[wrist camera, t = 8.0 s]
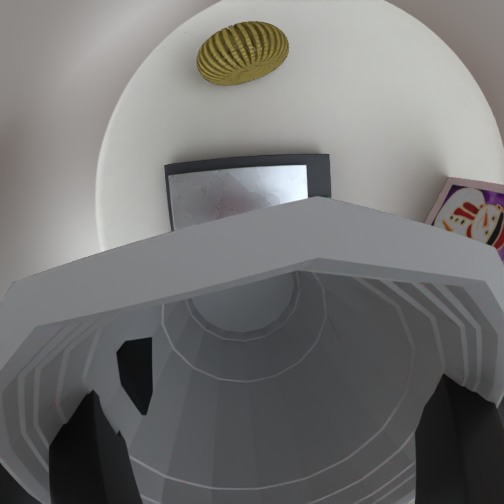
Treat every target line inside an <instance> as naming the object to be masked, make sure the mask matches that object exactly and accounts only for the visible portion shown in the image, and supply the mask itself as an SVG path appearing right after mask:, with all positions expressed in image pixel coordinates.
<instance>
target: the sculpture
mask: <svg viewBox="0 0 504 504" xmlns="http://www.w3.org/2000/svg"><path fill="white" fill-rule="evenodd" d="M228 28H229V29H227V28H224V29H222V31H218V32H216V33H215V34H214V35H212V36H211V37H210V38H209V39H207V40H206V42H205V43H204V44H203V46H202V47H201V49H200V50H199V53H198V56H197V67H198V71H199V72H200V74H201V75H202V76H203V77H204V78H205V79H206V80H207V81H210V82H211V83H213V84H214V83H215V84H218V85H224V86H227V85H237V84H242V83H246V82H249V81H252V80H255V79H258V78H259V77H262V76H264V75H267V74H268V73H270V72H272V71H273V70H275V69H276V68H277V67H279V66H280V65H281V64H282V63H283V62H284V60H285V59H286V57H287V55H288V52H289V43H288V40H287V37H286V36H285V34H284V33H283V32H282V31H281V30H280V29H278V28H277V27H275V26H274V25H271V24H268V23H264V22H258V21H256V22H254V21H252V22H244V23H243V22H242V23H238V24H235V25H234V26H232V25H231V26H228ZM262 43H263V44H262ZM246 47H247V48H248V49H247V48H246ZM253 47H255V49H256V51H255V49H254V48H253ZM260 47H261V48H263V49H261V48H260ZM238 54H239V55H238ZM260 54H261V55H262V56H261V55H260ZM233 56H234V57H235V59H236V61H235V60H234V59H233ZM223 58H224V59H223ZM223 60H224V61H223ZM218 62H219V63H218ZM228 62H229V63H231V64H228ZM213 65H214V66H213ZM223 66H224V67H223Z"/></svg>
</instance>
